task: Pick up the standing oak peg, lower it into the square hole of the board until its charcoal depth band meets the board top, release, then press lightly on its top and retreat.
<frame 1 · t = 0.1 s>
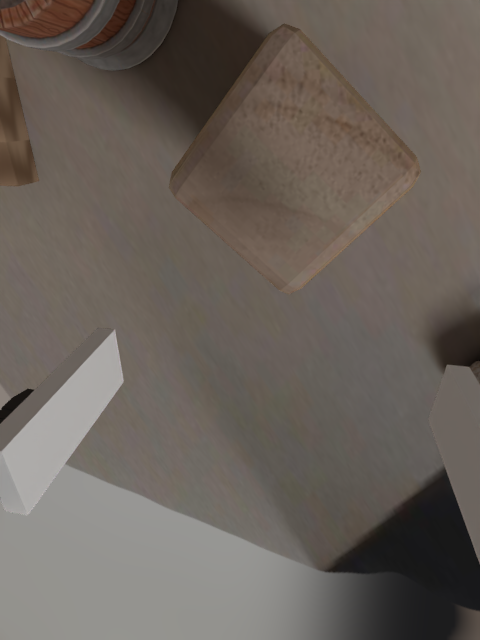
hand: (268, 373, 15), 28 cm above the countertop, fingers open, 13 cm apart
wooden block: (300, 148, 37), on the countertop
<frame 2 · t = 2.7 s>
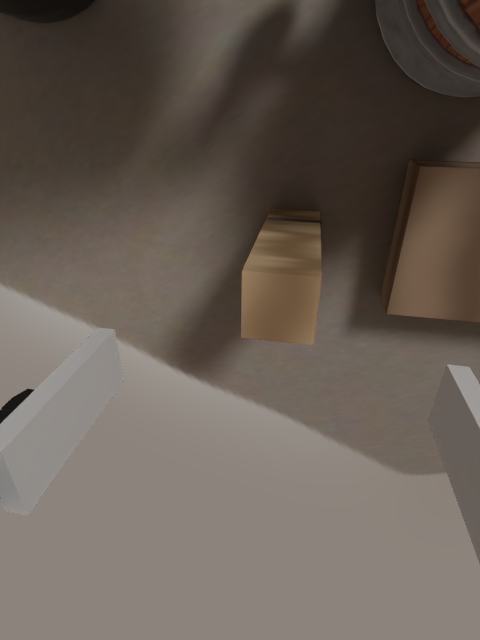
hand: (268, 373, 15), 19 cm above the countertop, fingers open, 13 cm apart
peg: (293, 233, 32), on the countertop
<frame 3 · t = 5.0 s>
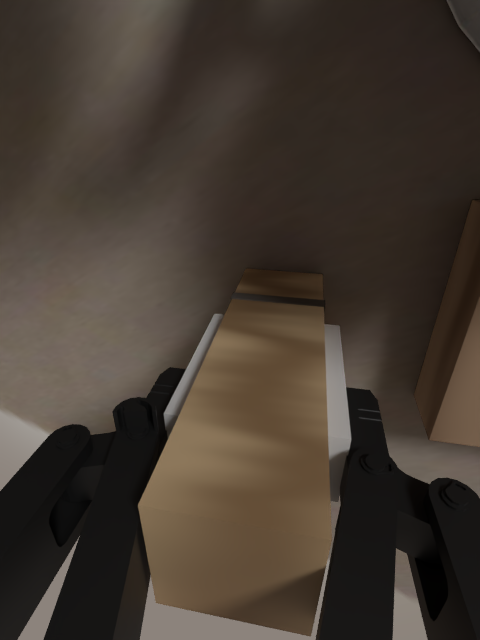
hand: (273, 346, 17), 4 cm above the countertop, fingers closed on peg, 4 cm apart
peg: (281, 305, 21), on the countertop, touching gripper
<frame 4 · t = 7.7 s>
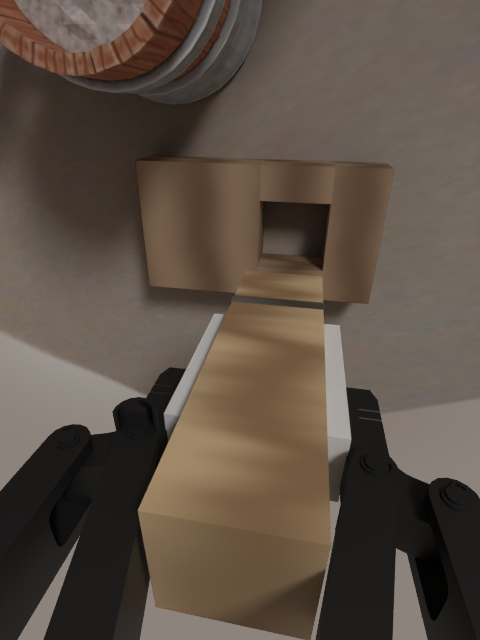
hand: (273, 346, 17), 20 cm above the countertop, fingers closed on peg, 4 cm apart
peg: (281, 307, 21), point 16 cm above the countertop, touching gripper
board: (261, 224, 35), on the countertop
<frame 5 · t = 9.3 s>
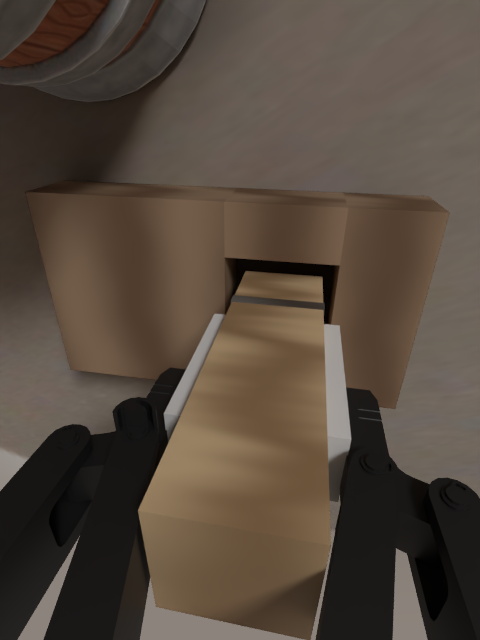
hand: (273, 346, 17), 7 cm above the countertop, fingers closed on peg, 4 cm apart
peg: (281, 307, 21), point 2 cm above the countertop, touching gripper
board: (233, 281, 23), on the countertop
when the fingers open (5 cm above the countertop, at t = 10.5 s): peg stays where it is, resting in board.
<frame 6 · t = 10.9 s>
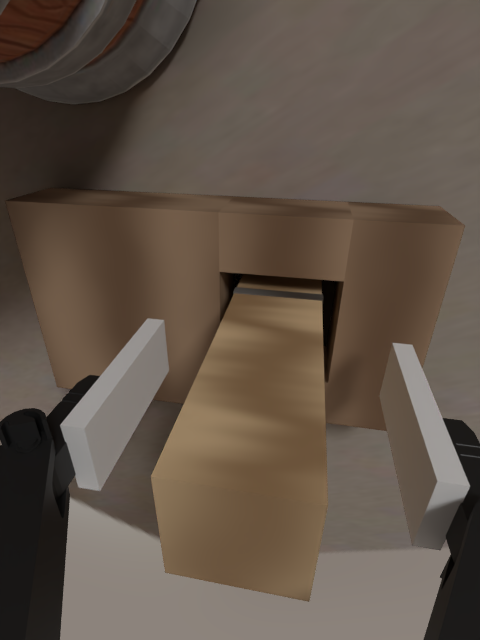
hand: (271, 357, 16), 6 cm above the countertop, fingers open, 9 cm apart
peg: (281, 300, 21), resting in board
board: (230, 294, 22), on the countertop
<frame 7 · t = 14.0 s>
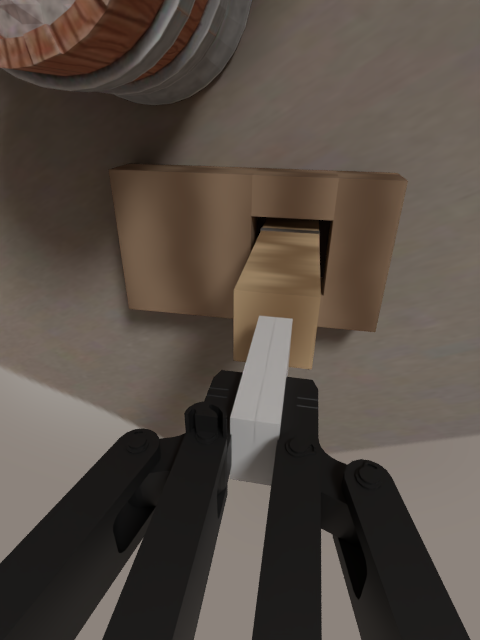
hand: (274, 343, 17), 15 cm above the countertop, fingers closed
peg: (290, 243, 30), resting in board
board: (254, 240, 31), on the countertop
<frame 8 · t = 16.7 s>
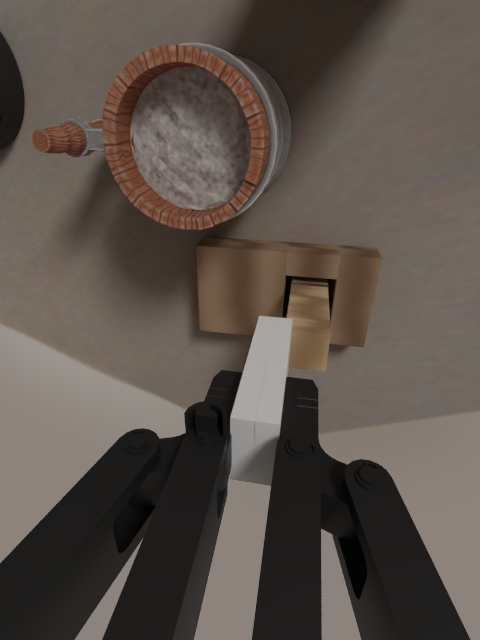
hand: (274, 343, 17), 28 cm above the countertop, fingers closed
peg: (308, 288, 46), resting in board
mug: (201, 134, 40), on the countertop
board: (284, 285, 47), on the countertop
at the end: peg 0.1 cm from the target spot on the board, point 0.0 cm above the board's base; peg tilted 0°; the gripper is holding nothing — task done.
